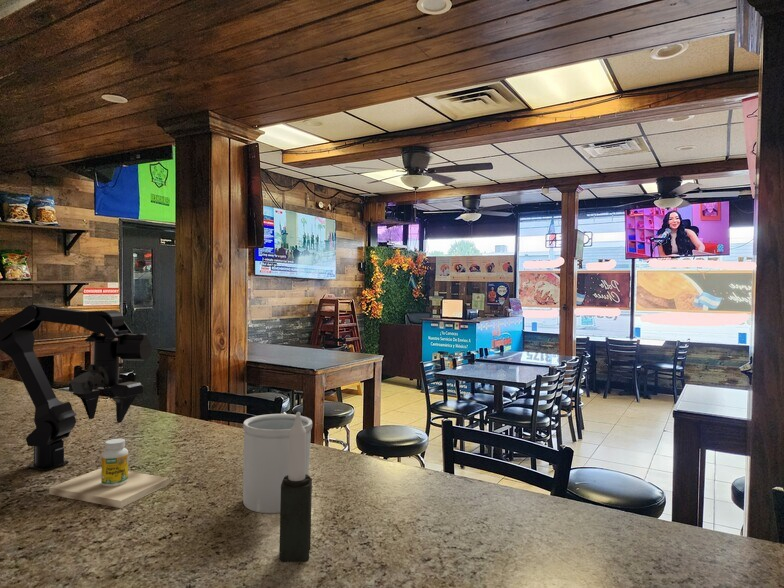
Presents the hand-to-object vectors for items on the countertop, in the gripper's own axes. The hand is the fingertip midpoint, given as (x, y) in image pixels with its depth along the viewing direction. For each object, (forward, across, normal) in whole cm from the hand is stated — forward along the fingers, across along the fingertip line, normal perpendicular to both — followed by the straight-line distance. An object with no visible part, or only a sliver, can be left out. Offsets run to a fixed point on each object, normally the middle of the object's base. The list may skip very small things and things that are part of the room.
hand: (105, 420), depth 128 cm
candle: (+12, +66, -21) cm, 70 cm away
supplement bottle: (+11, +14, -10) cm, 20 cm away
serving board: (+12, +13, -10) cm, 20 cm away
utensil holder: (+12, +51, -2) cm, 52 cm away
